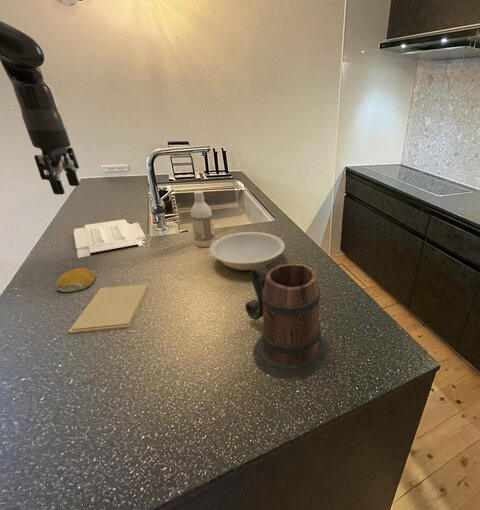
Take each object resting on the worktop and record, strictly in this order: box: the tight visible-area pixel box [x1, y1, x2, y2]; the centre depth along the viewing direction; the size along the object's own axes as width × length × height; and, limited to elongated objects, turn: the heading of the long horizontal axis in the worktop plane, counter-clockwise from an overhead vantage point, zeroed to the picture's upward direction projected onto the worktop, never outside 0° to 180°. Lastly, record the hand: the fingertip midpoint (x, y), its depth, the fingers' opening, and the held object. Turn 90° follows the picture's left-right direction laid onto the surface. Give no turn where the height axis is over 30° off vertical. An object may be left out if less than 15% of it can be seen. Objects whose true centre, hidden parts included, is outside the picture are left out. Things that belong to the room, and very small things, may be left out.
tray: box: [73, 219, 150, 259], centre depth 114 cm, size 20×28×4 cm
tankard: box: [245, 263, 329, 380], centre depth 68 cm, size 24×17×20 cm
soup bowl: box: [209, 231, 286, 271], centre depth 103 cm, size 24×24×7 cm
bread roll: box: [55, 267, 96, 293], centre depth 85 cm, size 8×9×4 cm
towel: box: [67, 284, 150, 335], centre depth 78 cm, size 12×18×1 cm, turn 15°
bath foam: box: [190, 190, 216, 248], centre depth 110 cm, size 7×7×20 cm
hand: (67, 189), depth 85 cm, fingers open, 8 cm apart
